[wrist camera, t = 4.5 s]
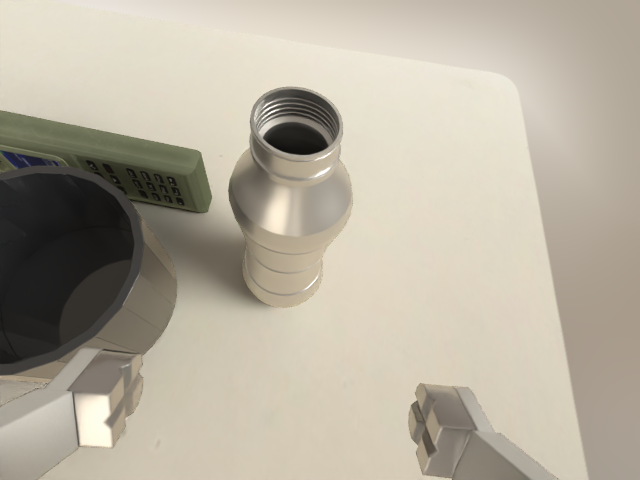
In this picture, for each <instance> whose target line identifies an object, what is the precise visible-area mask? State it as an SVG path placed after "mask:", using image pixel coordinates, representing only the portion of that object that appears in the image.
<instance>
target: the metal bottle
mask: <svg viewBox="0 0 640 480" xmlns="http://www.w3.org/2000/svg"><path fill="white" fill-rule="evenodd" d="M250 126H251V134H250V141H249V142H250V148H249V149H247V150H246V151H245V152H244V153H243V154H242V155H241V157H240V158H239V160H238V161H237V163H236V165H235V168H234V170H233V173H232V176H231V178H230V182H229V189H228V192H229V201H230V204H231V207H232V210H233V213H234V216H235V219H236V221H237V223H238V225H239V226H240V228H241V230H242V232H243V234H244V236H245V240H246V243H247V248H246V251H245V254H244V258H243V266H242V270H243V277H244V280H245V283H246V284H247V286H248V288H249V289H250V291H251V292H252V293H253V294H254V295H255V296H256V297H257V298H258V299H260V300H261V301H262V302H264V303H266V304H268V305H270V306H274V307H280V308H287V307H293V306H296V305H299V304H301V303H302V302H304V301H306V300H308V299H309V298H310V297H311V296H312V295H313V294H314V293H315V292H316V291H317V289H318V287H319V285H320V283H321V280H322V276H323V260H322V258H323V254H324V252H325V250H326V248H327V247H328V246H329V245H330V244H331V243H332V241H333V240H334V239H335V238H336V237H337V236H338V234H339V233H340V232H341V231H342V229H343V228H344V226H345V225H346V223H347V221H348V219H349V217H350V214H351V210H352V206H353V192H352V185H351V181H350V177H349V174H348V172H347V170H346V168H345V166H344V165H343V163H342V162H341V160H340V159H339V157H340V153H341V145H340V143H341V139H342V135H343V122H342V118H341V115H340V113H339V111H338V110H337V108H336V107H335V106H334V104H333V103H332V102H330V101H329V100H328V99H327V98H326V97H324V96H322V95H321V94H319V93H317V92H315V91H312V90H309V89H306V88H300V87H282V88H277V89H274V90H271V91H269V92H267V93H266V94H264V95H263V96H261V97H260V98H259V99H258V100H257V102H256V103H255V104H254V106H253V109H252V111H251V118H250Z"/></svg>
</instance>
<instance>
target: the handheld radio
mask: <svg viewBox="0 0 640 480" xmlns="http://www.w3.org/2000/svg"><path fill="white" fill-rule="evenodd" d="M30 166H68V167H73V168H76V169H80V170H83V171H87V172H90V173H93V174H97V175H99V176H101V177H102V178H104V179H105V180H107V181H108V182H110V183H111V184H113V185H114V186H116V187H117V188H118V189H120V190H121V191H123V192H124V194H125V195H126V196H127V198H128V199H134V200H139V201H144V202H149V203H154V204H159V205H165V206H170V207H175V208H180V209H185V210H190V211H196V212H201V213H205V212H207V211H208V209H209V205H210V202H211V199H212V195H211V191H210V187H209V183H208V179H207V175H206V171H205V167H204V163H203V159H202V155H201V153H200V152H199V151H197V150H193V149H188V148H183V147H178V146H173V145H169V144H164V143H159V142H154V141H149V140H144V139H139V138H134V137H129V136H124V135H119V134H114V133H109V132H105V131H100V130H95V129H90V128H85V127H80V126H75V125H70V124H65V123H60V122H55V121H50V120H45V119H41V118H36V117H31V116H26V115H21V114H16V113H11V112H6V111H1V110H0V173H1V172H6V171H11V170H16V169H20V168H25V167H30Z"/></svg>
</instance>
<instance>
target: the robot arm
mask: <svg viewBox="0 0 640 480" xmlns="http://www.w3.org/2000/svg"><path fill="white" fill-rule="evenodd" d="M142 365H143V363H142V355H141V354H140V353H133V352H125V351H117V350H110V349H99V348H91V347H84V348H82V349H80V350H79V351H78V352H77V353H76V354H75V355H74V357H73V358H72V359H71V360H70V361H69V362H68V363H67V364H66V365H65V366H64V367H63V368H62V370H61V371H60V372H59V373H58V374H57V375H56V376H55V377H54V378H53V379H52V380H51V381H50V382H49V384H48V385H47V386H46V387H45V388H44V389H40V388H37V389H35V390H33V391H31V392H29V393H27V394H24V395H22V396H20V397H18V398H16V399H14V400H12V401H9V402H7V403H5V404H3V405H1V406H0V480H37V479H39V478H40V477H41V476H43V475H44V474H45V473H47V472H48V471H49V470H51V469H52V468H53V467H55V466H56V465H57V464H59V463H60V462H61V461H62V460H64V459H65V458H66V457H68V456H69V455H70V454H72V453H73V452H74V451H76V450H77V449H78V446H79V447H97V448H114V446H115V444H116V442H117V441H118V439H119V437H120V435H121V434H122V432H123V430H124V428H125V427H126V425H125V418H126V417H127V416H129V415H131V414H132V413H133V412H134V411H135V409H136V407H137V405H138V403H139V400H140V397H141V394H142V388H143V377H142V376H141V375H140V373H139V370H140V369H141V367H142ZM415 395H416V398H417V401H416V402H414V403H413V404H412V405H411V408H410V411H409V421H408V424H409V431H410V435H411V438H412V440H413V441H414V442H415V443H416V444H417V445H418V448H417V451H416V455H417V458H418V461H419V465H420V468H421V471H422V474H423V475H428V476H437V477H445V478H452V480H559V479H558V478H556V477H555V476H554V475H553V474H551V473H550V472H549V471H548V470H546V469H545V468H544V467H543V466H541V465H540V464H539V463H538V462H536V461H535V460H534V459H532V458H531V457H530V456H529V455H527V454H526V453H525V452H524V451H522V450H521V449H520V448H519V447H517V446H516V445H515V444H514V443H512V442H511V441H510V440H509V439H507V438H506V437H505V436H504V435H502V434H501V433H496V432H495V431H494V429H493V427H492V425H491V424H490V422H489V420H488V418H487V416H486V415H485V413H484V411H483V409H482V408H481V406H480V404H479V402H478V401H477V399H476V397H475V395H474V394H473V392H472V390H471V389H469V388H468V387H456V386H452V387H451V386H442V385H432V384H422V383H420V384H419V385H418V386H417V389H416V392H415Z"/></svg>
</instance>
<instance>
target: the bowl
mask: <svg viewBox="0 0 640 480" xmlns="http://www.w3.org/2000/svg"><path fill="white" fill-rule="evenodd" d="M176 296H177V280H176V274H175V270H174V266H173V264H172V262H171V259H170V257H169V256H168V254H167V253H166V251H165V250H164V248H163V247H162V246H161V244H160V243H159V241H158V240H157V238H156V237H155V236H154V234H153V233H152V231H151V230H150V229H149V227H148V226H147V224H146V223H145V222H144V220H143V219H142V217H141V216H140V215H139V213H138V212H137V210H136V209H135V208H134V206H133V205H132V203H131V202H130V201H129V199H128V198H127V196H126V195H125V194H124V192H123V191H121V190H120V189H118V188H117V187H116V186H114V185H113V184H111V183H110V182H108V181H107V180H105V179H104V178H102V177H101V176H99V175H97V174H93V173H90V172H87V171H83V170H80V169H76V168H73V167H68V166H30V167H25V168H20V169H16V170H11V171H6V172H1V173H0V379H2V380H16V381H29V382H43V383H49V382H50V381H51V380H52V379H53V378H54V377H55V376H56V375H57V374H58V373H59V372H60V371H61V370H62V368H63V367H64V366H65V365H66V364H67V363H68V362H69V361H70V360H71V359H72V358H73V357H74V355H75V354H76V353H77V352H78V351H79V350H80V349H82V348H84V347H91V348H99V349H110V350H117V351H125V352H133V353H140V354H141V355H142V356H143V355H144V354H145V353H146V352H147V351H148V350H149V349H150V348H151V347H152V346H153V345H154V344H155V342H156V341H157V340H158V339H159V337H160V336H161V334H162V333H163V331H164V330H165V328H166V326H167V324H168V322H169V320H170V318H171V316H172V313H173V310H174V307H175V302H176Z"/></svg>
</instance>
